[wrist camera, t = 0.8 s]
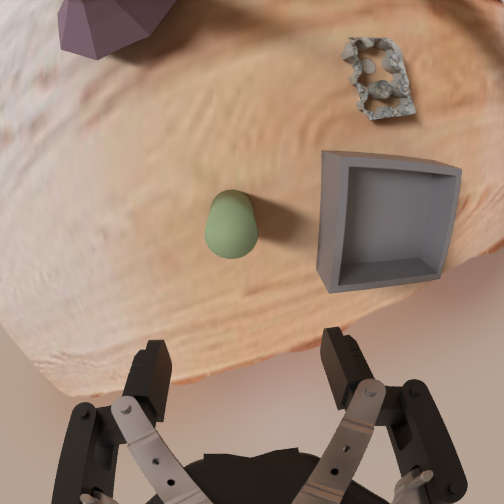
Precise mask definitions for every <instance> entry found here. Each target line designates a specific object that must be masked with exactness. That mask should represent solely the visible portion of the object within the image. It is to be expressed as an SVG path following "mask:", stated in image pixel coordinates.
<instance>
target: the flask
mask: <svg viewBox="0 0 504 504" xmlns="http://www.w3.org/2000/svg"><path fill="white" fill-rule="evenodd" d="M176 1H177V0H64V1H63V3H62V5H61V7H60V10H59V12H58V26H59V37H60V46H61V50H65V51H68V52H72V53H75V54H79V55H82V56H85V57H88V58H91V59H95V60H99V59H101V58H103V57H105V56H107V55H109V54H111V53H113V52H115V51H117V50H119V49H121V48H123V47H125V46H128V45H130V44H132V43H134V42H137V41H139V40H142V39H144V38H147V37H149V36H151V34H152V33H153V31H154V30H155V28H156V27H157V26H158V24H159V23H160V22H161V20H162V19H163V18H164V16H165V15H166V14H167V12H168V11H169V10H170V8H171V7H172V6H173V5H174V3H175V2H176Z"/></svg>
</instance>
